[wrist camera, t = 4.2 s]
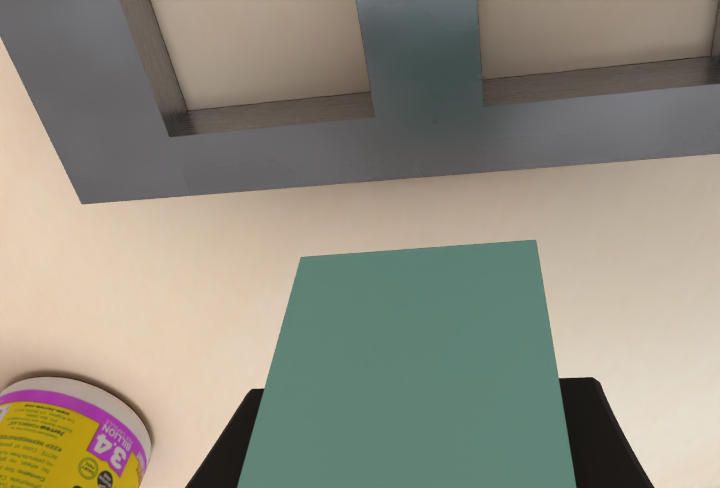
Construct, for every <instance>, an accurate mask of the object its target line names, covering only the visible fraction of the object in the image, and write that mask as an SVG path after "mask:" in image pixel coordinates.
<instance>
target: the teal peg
mask: <svg viewBox="0 0 720 488" xmlns="http://www.w3.org/2000/svg"><path fill="white" fill-rule="evenodd" d="M237 488H576V482H575V476H574V470H573V464H572V457H571V451H570V445H569V439H568V433H567V427H566V421H565V414H564V408H563V402H562V396H561V390H560V384H559V378H558V371H557V365H556V359H555V353H554V347H553V341H552V335H551V329H550V322H549V316H548V310H547V304H546V298H545V292H544V286H543V279H542V273H541V267H540V261H539V255H538V249H537V243H536V240H526V241H513V242H499V243H486V244H472V245H459V246H445V247H432V248H418V249H404V250H391V251H377V252H364V253H350V254H337V255H323V256H309V257H301V259H300V262H299V266H298V269H297V273H296V277H295V280H294V284H293V287H292V291H291V295H290V298H289V302H288V305H287V309H286V313H285V316H284V320H283V324H282V327H281V331H280V334H279V338H278V342H277V345H276V349H275V352H274V356H273V360H272V363H271V367H270V371H269V374H268V378H267V381H266V385H265V389H264V392H263V396H262V399H261V403H260V407H259V410H258V414H257V417H256V421H255V425H254V428H253V432H252V436H251V439H250V443H249V446H248V450H247V454H246V457H245V461H244V464H243V468H242V472H241V475H240V479H239V483H238V486H237Z"/></svg>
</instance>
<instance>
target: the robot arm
mask: <svg viewBox="0 0 720 488" xmlns="http://www.w3.org/2000/svg"><path fill="white" fill-rule="evenodd" d="M559 384H560V390H561V396H562V402H563V408H564V414H565V421H566V427H567V433H568V439H569V445H570V451H571V457H572V464H573V470H574V476H575V482H576V488H654V486H653V485H652V483H651V482H650V480H649V478H648V476H647V475H646V473H645V471H644V470H643V468H642V466H641V464H640V463H639V461H638V459H637V457H636V455H635V454H634V452H633V450H632V448H631V446H630V445H629V443H628V441H627V439H626V437H625V435H624V433H623V432H622V430H621V428H620V426H619V424H618V422H617V420H616V418H615V416H614V414H613V412H612V409H611V407H610V405H609V403H608V401H607V398H606V396H605V394H604V391H603V389H602V386H601V384H600V382H598V381H597V380H596V379H594V378H593V377H586V378H559ZM263 392H264V389H251V390H250V391H249V392H248V393H247V395H246V396H245V398H244V399H243V401H242V403H241V404H240V406H239V407H238V409H237V410H236V412H235V414H234V415H233V417H232V418H231V420H230V421H229V423H228V424H227V426H226V428H225V429H224V431H223V432H222V434H221V435H220V437H219V438H218V440H217V441H216V443H215V444H214V446H213V447H212V449H211V451H210V452H209V454H208V455H207V457H206V458H205V460H204V461H203V463H202V464H201V466H200V467H199V468H198V470H197V471H196V473H195V474H194V476H193V477H192V479H191V480H190V481H189V483H188V484H187V486H186V487H185V488H237V486H238V483H239V479H240V475H241V472H242V468H243V464H244V461H245V457H246V454H247V450H248V446H249V443H250V439H251V436H252V432H253V428H254V425H255V421H256V417H257V414H258V410H259V407H260V403H261V399H262V396H263Z"/></svg>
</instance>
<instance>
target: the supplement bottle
mask: <svg viewBox="0 0 720 488" xmlns="http://www.w3.org/2000/svg"><path fill="white" fill-rule="evenodd" d="M150 456H151V442H150V438H149V435H148V432H147V430H146V428H145V426H144V424H143V423H142V421H141V420H140V418H139V417H138V416H137V415H136V414H135V412H134V411H133V410H132V409H131V408H129V407H128V406H127V405H126V404H125V403H123V402H122V401H121V400H119V399H118V398H116V397H115V396H113V395H111V394H110V393H108V392H106V391H104V390H102V389H100V388H98V387H95V386H93V385H90V384H87V383H84V382H81V381H77V380H73V379H68V378H58V377H37V378H30V379H25V380H22V381H19V382H16V383H14V384H12V385H10V386H9V387H7V388H6V389H5V390H3V391H2V392H1V393H0V488H139V486H140V484H141V481H142V479H143V476H144V474H145V471H146V469H147V466H148V463H149V461H150Z"/></svg>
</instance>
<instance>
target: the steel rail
mask: <svg viewBox="0 0 720 488" xmlns="http://www.w3.org/2000/svg"><path fill="white" fill-rule="evenodd" d="M356 4H357V10H358V16H359V22H360V28H361V34H362V40H363V46H364V53H365V59H366V65H367V71H368V77H369V83H370V89H371V92H367V93H357V94H348V95H338V96H329V97H319V98H309V99H300V100H290V101H281V102H271V103H262V104H252V105H243V106H233V107H223V108H214V109H204V110H195V111H187V108H186V105H185V103H184V100H183V97H182V94H181V91H180V88H179V85H178V82H177V79H176V76H175V73H174V70H173V67H172V65H171V62H170V59H169V56H168V53H167V50H166V47H165V44H164V41H163V38H162V35H161V32H160V29H159V27H158V24H157V21H156V18H155V15H154V12H153V9H152V6H151V3H150V0H0V37H1V39H2V41H3V43H4V45H5V47H6V49H7V51H8V53H9V55H10V57H11V60H12V62H13V64H14V66H15V68H16V70H17V72H18V74H19V76H20V78H21V80H22V82H23V84H24V86H25V88H26V90H27V92H28V94H29V97H30V99H31V101H32V103H33V105H34V107H35V109H36V111H37V113H38V115H39V117H40V119H41V121H42V123H43V125H44V127H45V129H46V132H47V134H48V136H49V138H50V140H51V142H52V144H53V146H54V148H55V150H56V152H57V154H58V156H59V158H60V160H61V162H62V164H63V166H64V169H65V171H66V173H67V175H68V177H69V179H70V181H71V183H72V185H73V187H74V189H75V191H76V193H77V195H78V197H79V199H80V201H81V204H92V203H105V202H117V201H130V200H142V199H155V198H168V197H180V196H193V195H205V194H218V193H230V192H243V191H255V190H268V189H281V188H293V187H306V186H318V185H331V184H343V183H356V182H369V181H381V180H394V179H406V178H419V177H431V176H444V175H457V174H469V173H482V172H494V171H507V170H519V169H532V168H545V167H557V166H570V165H582V164H595V163H607V162H620V161H633V160H645V159H658V158H670V157H683V156H695V155H708V154H720V0H719V7H718V13H717V20H716V27H715V33H714V40H713V47H712V53H711V57H701V58H692V59H682V60H673V61H663V62H653V63H644V64H634V65H625V66H615V67H606V68H596V69H587V70H577V71H567V72H558V73H548V74H539V75H529V76H520V77H510V78H501V79H491V80H482V73H481V56H480V39H479V22H478V5H477V0H356Z"/></svg>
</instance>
